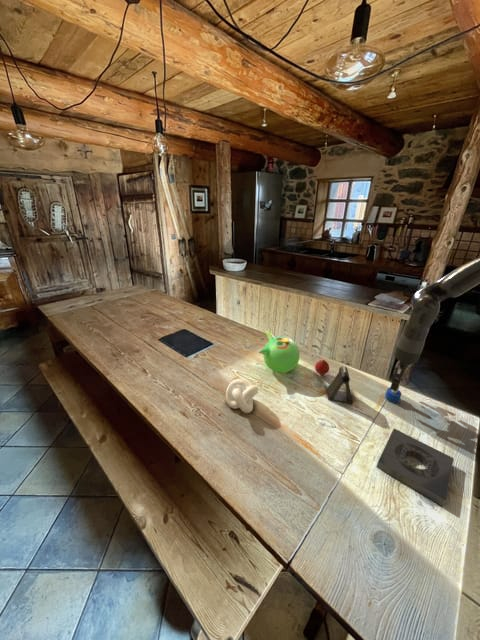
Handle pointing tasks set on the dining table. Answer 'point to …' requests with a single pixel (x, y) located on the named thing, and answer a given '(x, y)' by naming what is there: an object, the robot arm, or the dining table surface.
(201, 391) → the dining table surface
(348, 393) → the phone stand
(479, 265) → the robot arm
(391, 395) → the sink plug
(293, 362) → the toy bird
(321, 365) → the strawberry
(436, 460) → the dark rectangular plate
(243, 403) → the cream knot sculpture
